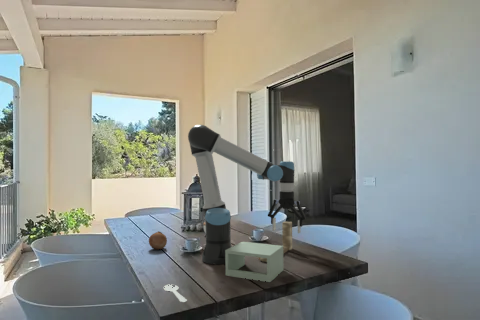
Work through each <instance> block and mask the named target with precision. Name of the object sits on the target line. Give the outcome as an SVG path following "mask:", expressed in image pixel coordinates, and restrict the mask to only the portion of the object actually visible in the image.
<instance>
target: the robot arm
mask: <svg viewBox="0 0 480 320" xmlns="http://www.w3.org/2000/svg"><path fill="white" fill-rule="evenodd" d="M187 139H188V143H189V147H190V152H191V155H192V157H194V158H195V162H196V166H197V167H196V168H197V171H198V172H197V173H198V178H199V181H200V186H201V192H202V196H203V201H204V205H203V206H202V212H203V217H204V222H205V223H206V233H205V246H204V250H203V252H202V262H204V263H205V264H209V265H224V264H225V250H227V249H229V248H231V247H233V245H232V241H231V237H232V235H231V234H232V233H231V218H232V216H231V212H230V210H229V209H227V208H226V202H225V201H223V200H222V197H221V192H220V187H219V186H220V185H219V182H218V177H217V172H216V167H215V161H214V157H213V153H215V154H217V155H219V156H221V157H223V158H226V159H228V160H230V161H232V162H233V163H235V164H237V165H239V166H241V167H243V168H246V169H248V170H249V171H251V172H253V173H255V174H256V177H257V179H258V180H263V181H264V180H268V181H271V182H277V181H279V199H276V198H275V199H273V201H272V202H273V203H272V206H271V207H270V209H269V212H268V213H267V217H269V218H270V223H271V225H272V231H273V232H274V231H276V229H277V228H276V226H277V225H276V223H277V219H276V216H277V214H279V212H280V211H281V210H282V209H283V210H284V209H286V210H291V211H292V212H293V214H294V215H295V216H296V218H297V234H301V230H302V229H301V228H302V227H303V221H304V220H306V219H307V216H306V214H305V212H304V208H302V205H301V200H295V192H294V190H295V162H293V161H280V162H279V164H274V163H272V162H269V161H268V160H266V159H264V158H262V157H261V156H258V155H256V154H254V153H253V152H250V151H248V150H246V149H244V148H243V147H241V146H238V145H236V144H235V143H232V142H230V141H229V140H227V139H225V138H222V136H221V134H219V133H217V132H215V131H214V130H212V129H211V128H209V127H208V126H206V125H204V124H196V125H194V126H192V127H191V128H190V129H189V131H188V133H187ZM277 204H279V206H278V208H277V207H276V206H277ZM295 205H296V207H297V209H298V210H297V209H296V207H295ZM275 208H276V210H275Z"/></svg>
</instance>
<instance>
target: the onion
mask: <svg viewBox="0 0 480 320" xmlns="http://www.w3.org/2000/svg"><path fill="white" fill-rule="evenodd" d="M167 242H168V239H167V236H166V235H165V234H164V233H163V232H162V231H157V232H155V233H152V234H151V235H150V236H149V238H148V244H149V246H150V247H151V248H152V250H155V251H158V250H159V249H160V250H162V249H164V248H165V247H166V245H167V244H168V243H167Z"/></svg>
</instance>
